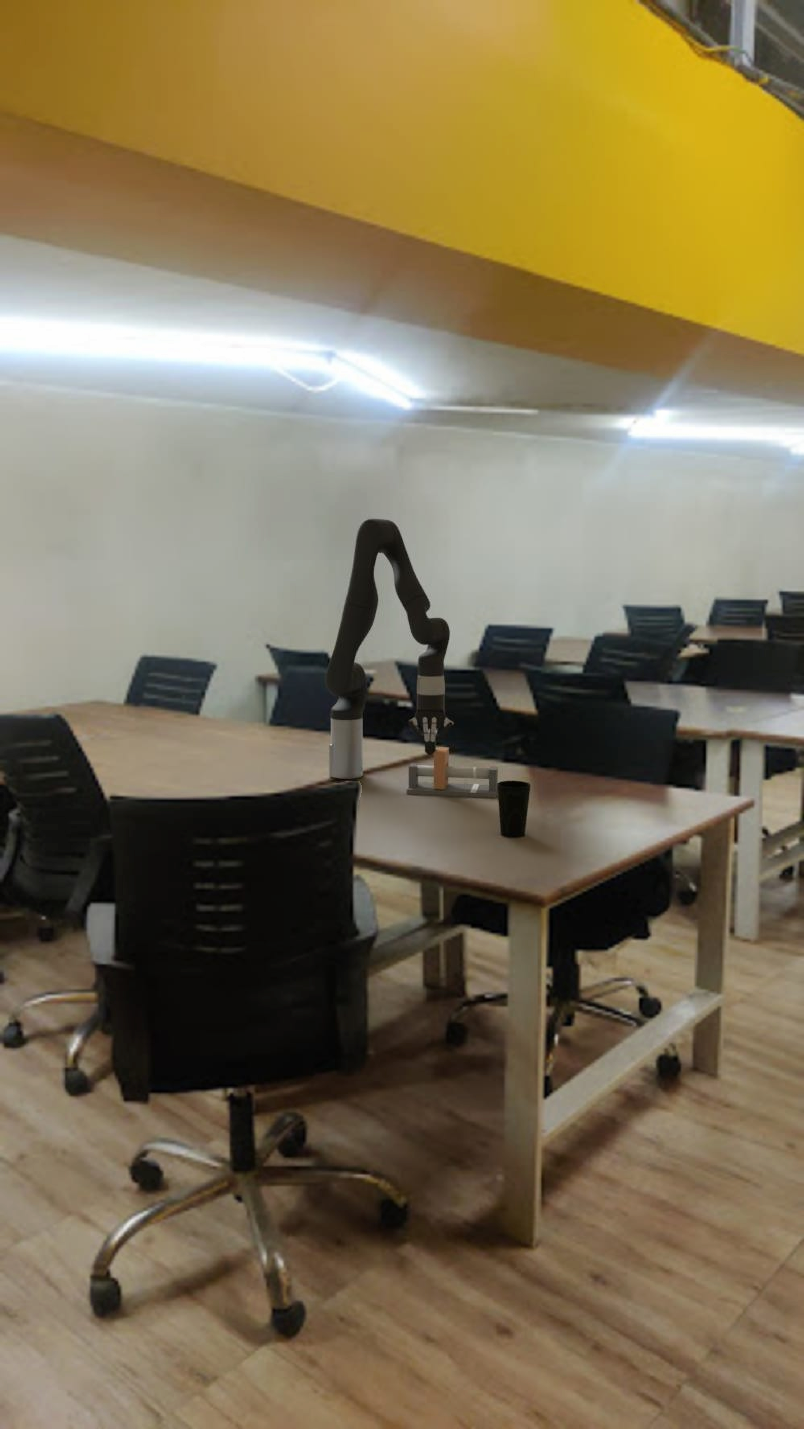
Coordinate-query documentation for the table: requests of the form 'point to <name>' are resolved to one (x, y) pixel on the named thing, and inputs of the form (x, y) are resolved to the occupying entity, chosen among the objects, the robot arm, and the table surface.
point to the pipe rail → (454, 788)
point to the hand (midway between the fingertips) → (430, 754)
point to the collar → (441, 767)
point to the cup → (513, 807)
